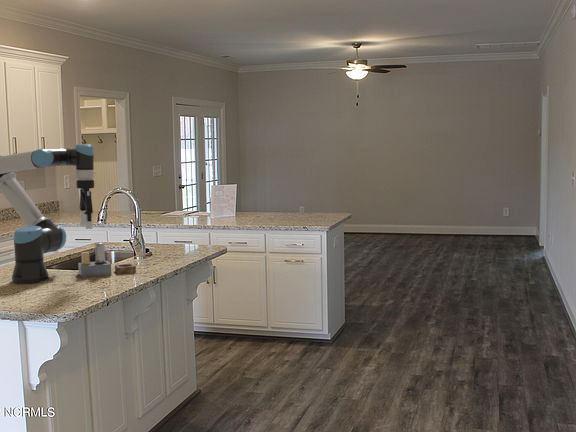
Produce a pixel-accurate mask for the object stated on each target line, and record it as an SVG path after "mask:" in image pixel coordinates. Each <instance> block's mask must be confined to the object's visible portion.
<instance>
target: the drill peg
mask: <svg viewBox="0 0 576 432" xmlns="http://www.w3.org/2000/svg"><path fill="white" fill-rule="evenodd" d="M94 247H95V249H94V250H95V262H96V264H105V261H106V254H105V253H106V250H105V242H96V243H94Z"/></svg>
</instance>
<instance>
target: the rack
mask: <svg viewBox="0 0 576 432" xmlns="http://www.w3.org/2000/svg"><path fill="white" fill-rule="evenodd" d="M113 272H114V273H115V274H116V276H117V275H127V274H128V275H129V274H138V272H137V267H136V265H135V264H134V263H122V264H121V263H120V264H115V265H114V271H113Z"/></svg>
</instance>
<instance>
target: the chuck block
mask: <svg viewBox="0 0 576 432" xmlns="http://www.w3.org/2000/svg"><path fill="white" fill-rule="evenodd" d="M77 265H78V275H79V276H80V278H81V279H84V278H97V277H108V276H109V277H110V276H112V274H113V273H112V263H110V262H109V260H105V264H96V261H90V265H82V262H78V264H77Z"/></svg>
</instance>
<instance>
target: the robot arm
mask: <svg viewBox="0 0 576 432" xmlns="http://www.w3.org/2000/svg"><path fill="white" fill-rule="evenodd" d="M94 155H95V154H94V146H93V145H92V144H84V143H83V144H81V143H79V144H76V145H75V148H59V147H58V148H37V149H36V150H31V151H26V152H25V151H24V152H19V153H14V154H8V155H0V192H1V194H2V195H3V196H4V198H5V199H6V200H7V202H9V204H10V205H11V207H12V208H13V210H14V211H15V212H16V214H17V215H18V216H19V217H20V218H21V220H22V222H23V223H24V224H25V226H24V227H20V228H17V229H16V230H15V231H14V233H13V245H14V246H13V247H14V248H13V249H14V261H15V262H14V263H15V265H14V268H13V272H12V274H11V282H12V283H13V284H20V283H26V284H36V283H35V282H37V283H42V282H41V281H43V282H46V281H48V280H49V278H50V277H49V276H50V275H49V272H48V269H47V267H46V264H45V261H44V260H45V259H44V254H47V253H54V252H56V251H58V250H60V249H62V248H64V246H65V245H66V242H67V233H66V230H65V229H64V227H62V226H61V225H58V224H55V223H54V222H53V220H52V219H51V218H49V217H45V216H44V215H43V213H42V212H41V210H40V209H39V207H38V206H37V205H36V204H35V203H34V201H33V200H32V198H31V197H30V195H28V193H27V192H26V190H25V189H24V188H23V187H22V185H21V184H20V182H19V181H18V180H17V173H16V172H21V171H27V170H34V169H42V168H47V167H62V166H67V167H68V166H74V167H75V176H76V177H75V178H76V179H77V180H76V182H75V183H76V188H77V189H79V192H80V194H79V210H80V212H79V213H80V226H85V230H88V229H89V230H91V229H93V213H94V210H93V209H94V208H93V200H92V191H91V190H90V189H94V188H95V180H94V179H95V175H96V172H95V170H94V169H95V168H94V167H95V165H94V161H95V157H94ZM45 280H46V281H45Z"/></svg>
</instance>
